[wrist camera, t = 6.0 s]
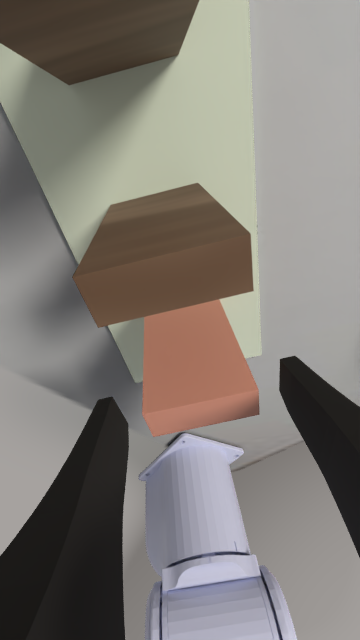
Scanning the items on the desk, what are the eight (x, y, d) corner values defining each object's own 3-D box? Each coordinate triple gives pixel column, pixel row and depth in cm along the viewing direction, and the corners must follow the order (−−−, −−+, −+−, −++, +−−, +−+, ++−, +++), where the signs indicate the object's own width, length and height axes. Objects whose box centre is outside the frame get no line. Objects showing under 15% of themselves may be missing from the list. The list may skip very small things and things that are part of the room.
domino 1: (216, 307, 17) (259, 414, 10) (151, 322, 17) (153, 436, 11) (213, 286, 16) (258, 389, 10) (144, 302, 16) (142, 414, 10)
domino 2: (203, 216, 14) (253, 291, 7) (121, 236, 14) (98, 327, 7) (197, 182, 13) (250, 233, 6) (110, 204, 13) (72, 277, 6)
